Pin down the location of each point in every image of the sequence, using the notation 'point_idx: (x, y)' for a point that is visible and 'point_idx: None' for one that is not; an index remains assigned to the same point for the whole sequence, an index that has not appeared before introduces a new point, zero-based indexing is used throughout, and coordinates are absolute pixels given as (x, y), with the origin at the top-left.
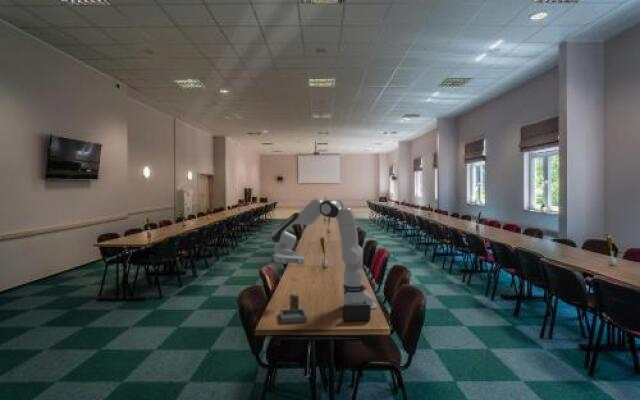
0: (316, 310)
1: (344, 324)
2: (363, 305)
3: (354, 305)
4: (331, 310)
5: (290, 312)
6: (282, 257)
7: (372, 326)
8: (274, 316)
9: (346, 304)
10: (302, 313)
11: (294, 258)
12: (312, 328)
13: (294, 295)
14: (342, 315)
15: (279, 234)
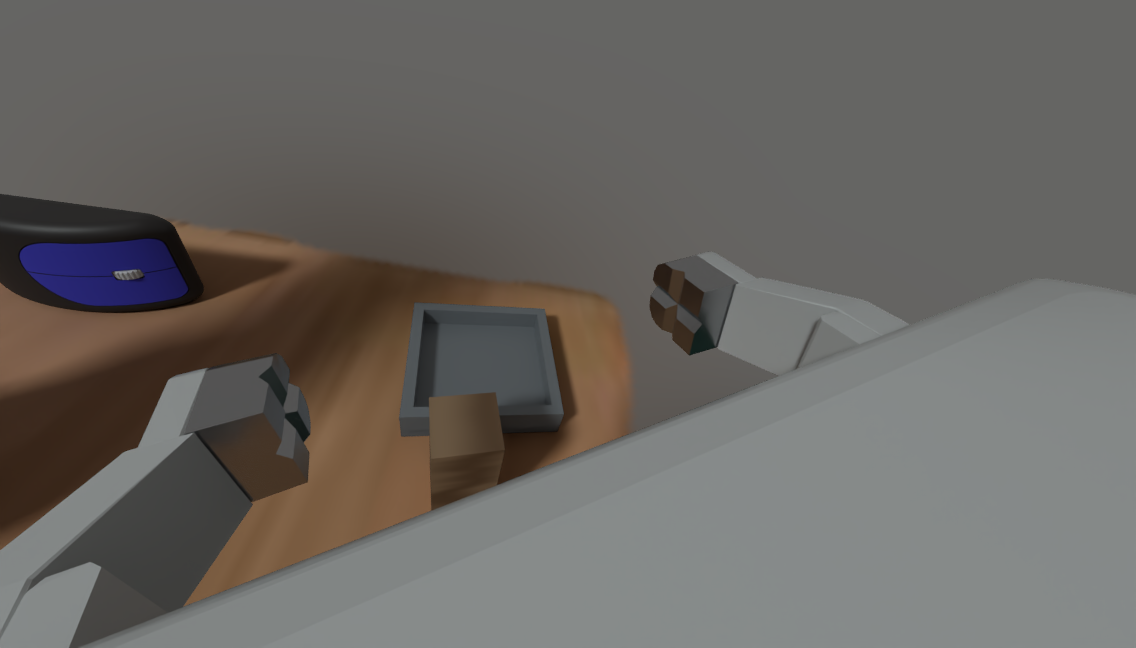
0: None
1: (227, 269)
2: (1, 194)
3: (78, 204)
4: None
5: None
6: (933, 320)
7: None
8: (587, 416)
9: (128, 217)
10: (416, 396)
11: (370, 540)
12: (410, 267)
13: (463, 418)
14: (195, 271)
15: None
